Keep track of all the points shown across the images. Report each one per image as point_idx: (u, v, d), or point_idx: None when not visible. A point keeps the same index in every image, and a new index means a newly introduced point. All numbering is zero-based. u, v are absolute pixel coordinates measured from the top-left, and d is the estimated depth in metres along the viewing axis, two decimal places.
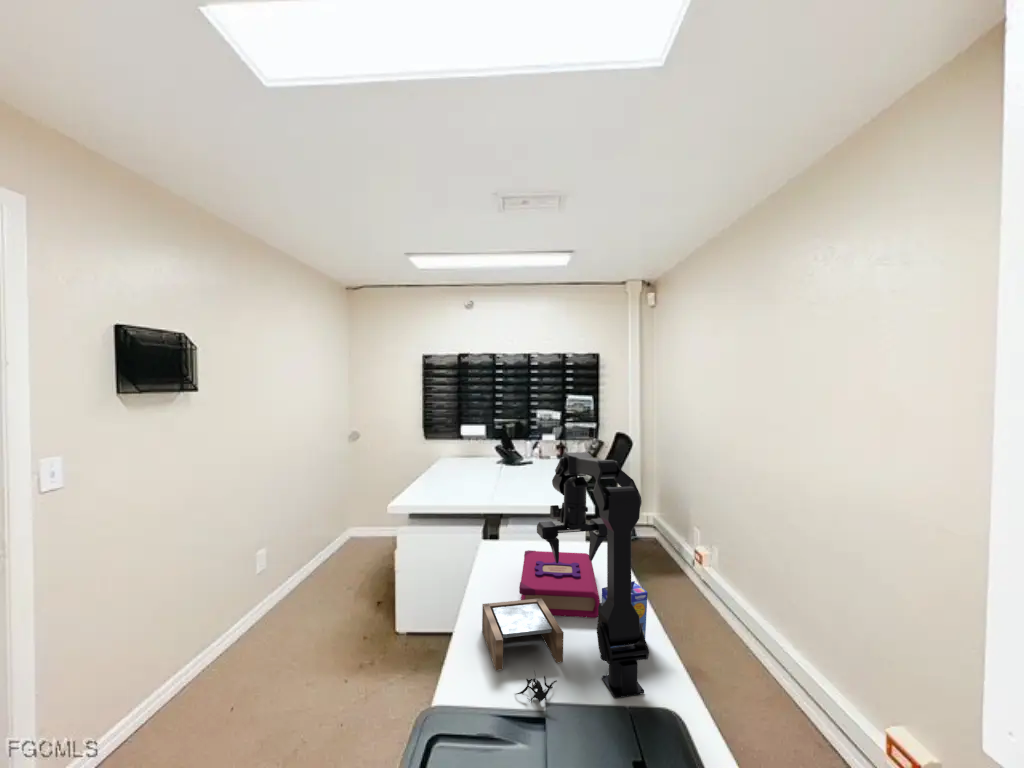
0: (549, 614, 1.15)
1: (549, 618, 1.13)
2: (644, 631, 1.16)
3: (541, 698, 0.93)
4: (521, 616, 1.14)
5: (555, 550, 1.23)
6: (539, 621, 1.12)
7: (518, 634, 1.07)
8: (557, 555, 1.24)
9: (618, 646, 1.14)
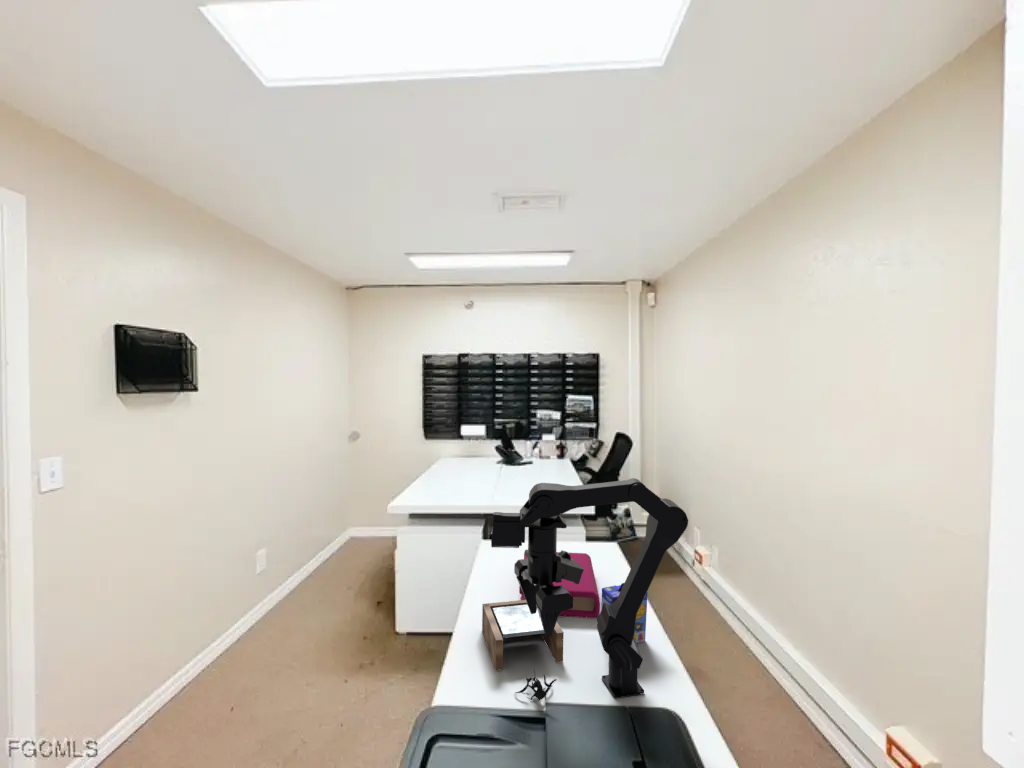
0: None
1: None
2: (644, 631, 1.16)
3: (541, 697, 0.93)
4: (521, 616, 1.14)
5: (523, 593, 1.04)
6: (539, 621, 1.12)
7: (518, 634, 1.07)
8: None
9: None
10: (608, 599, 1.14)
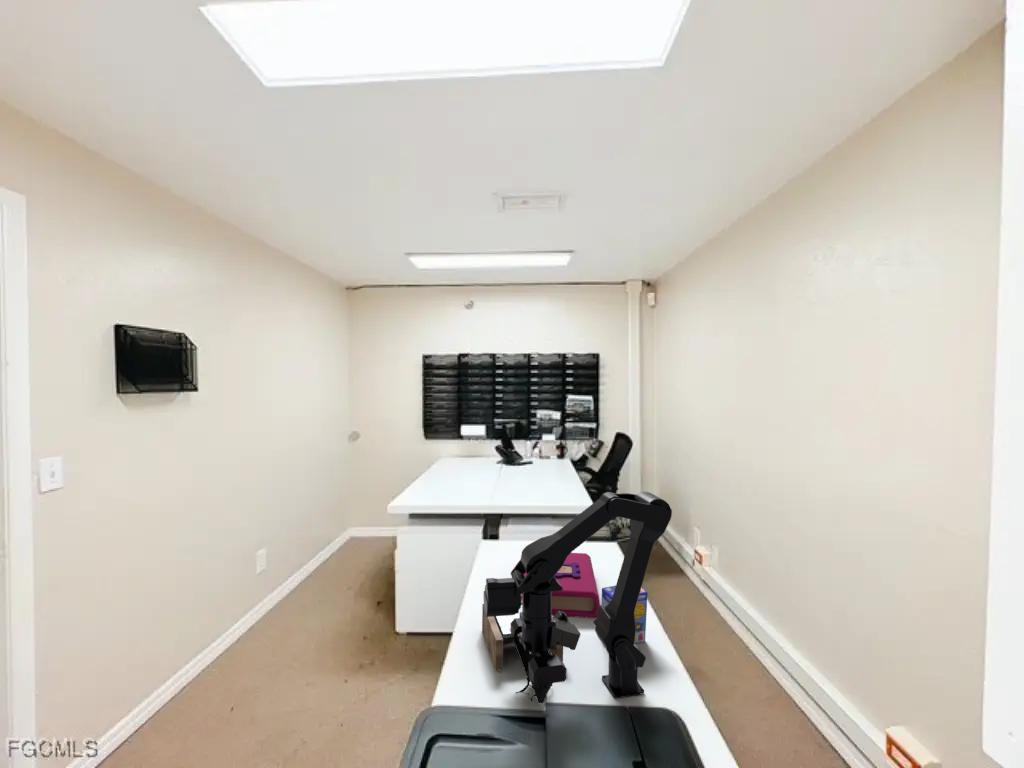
0: None
1: None
2: (644, 631, 1.16)
3: None
4: None
5: (520, 657, 1.00)
6: None
7: None
8: (523, 666, 1.00)
9: None
10: (608, 599, 1.14)
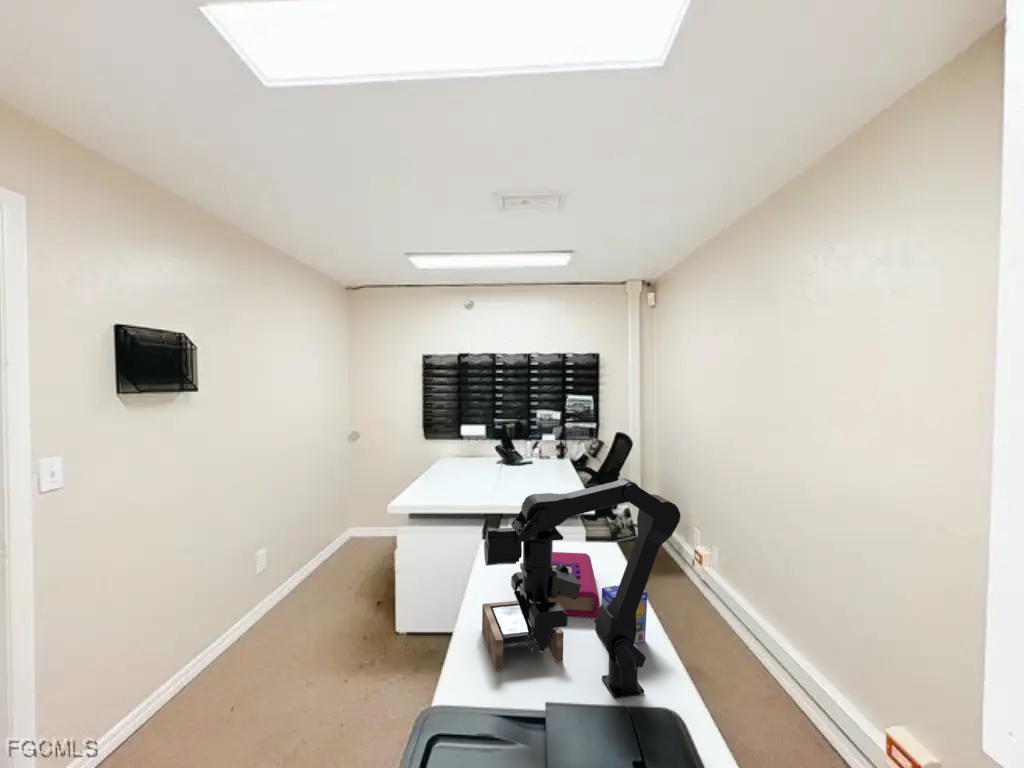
0: None
1: None
2: (644, 631, 1.16)
3: None
4: (521, 616, 1.14)
5: None
6: None
7: (518, 634, 1.07)
8: (524, 619, 0.99)
9: None
10: (608, 599, 1.14)
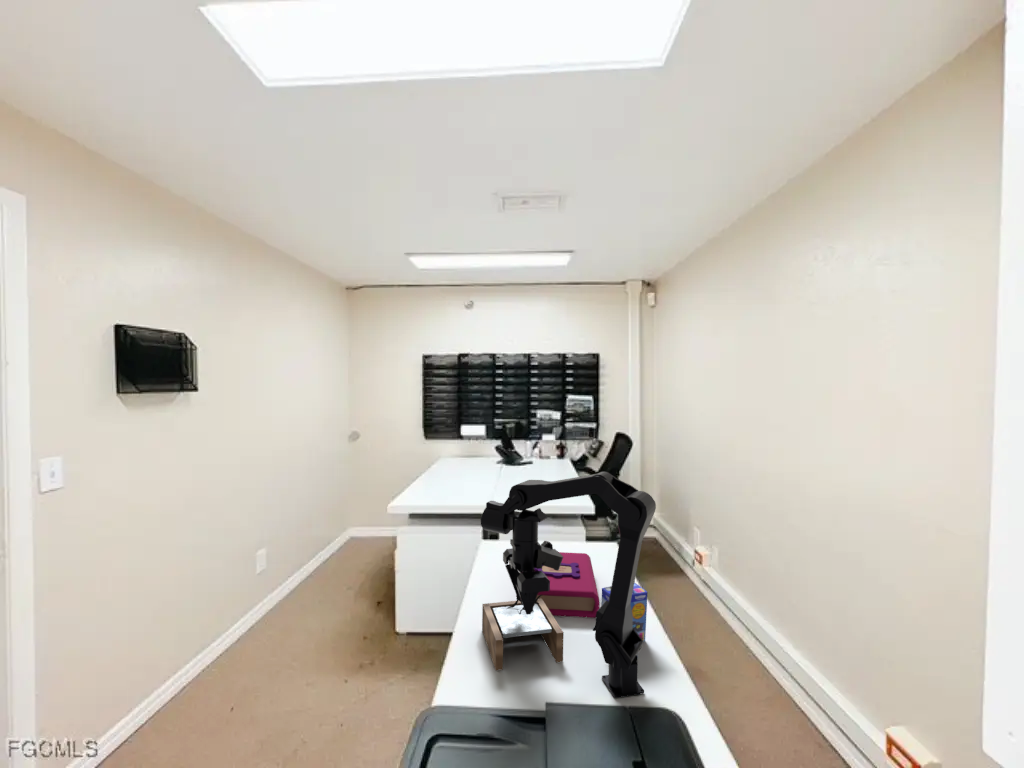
0: (549, 614, 1.15)
1: (549, 618, 1.13)
2: (644, 631, 1.16)
3: None
4: (521, 616, 1.14)
5: (511, 580, 1.15)
6: (539, 621, 1.12)
7: (518, 634, 1.07)
8: (514, 588, 1.14)
9: None
10: (608, 599, 1.14)
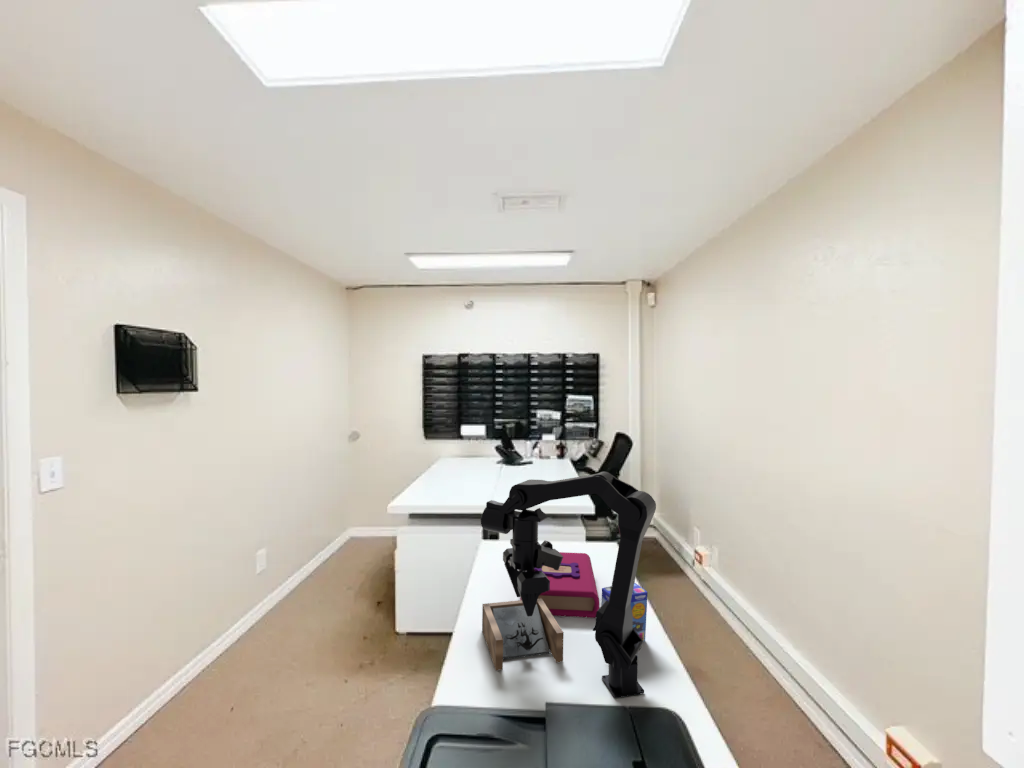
0: (549, 614, 1.15)
1: (549, 618, 1.13)
2: (644, 631, 1.16)
3: (527, 649, 1.08)
4: (521, 626, 1.15)
5: (510, 578, 1.16)
6: (538, 637, 1.13)
7: (516, 656, 1.09)
8: (513, 586, 1.15)
9: None
10: (608, 599, 1.14)
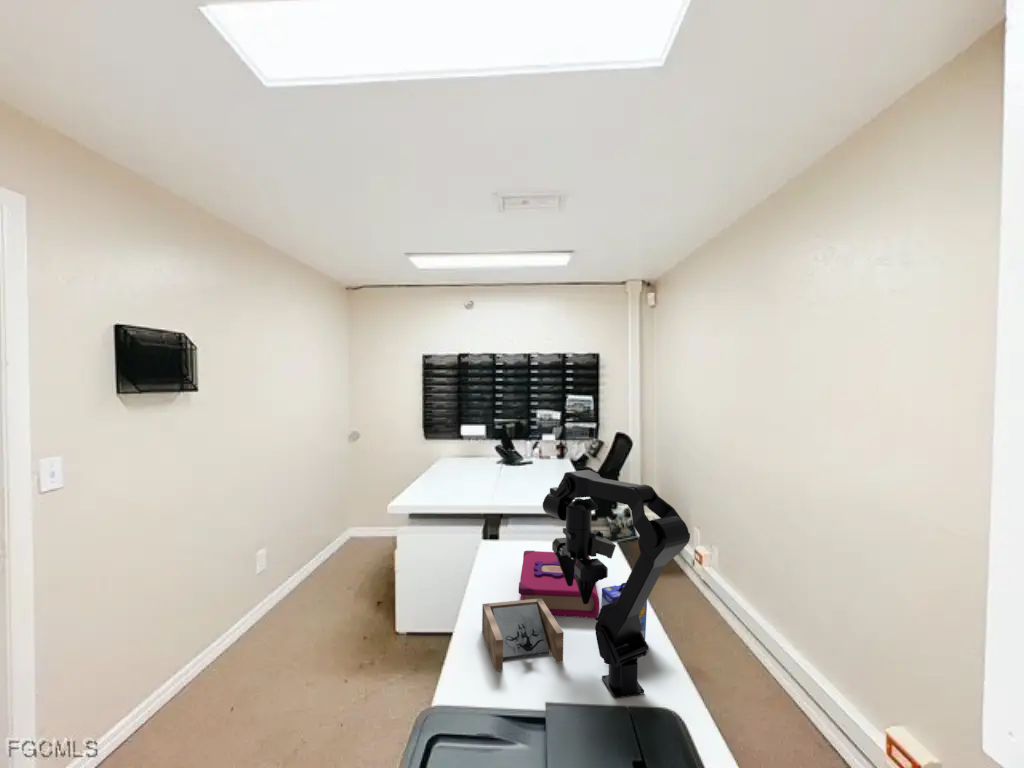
0: (549, 614, 1.15)
1: (549, 618, 1.13)
2: (644, 631, 1.16)
3: (528, 650, 1.08)
4: (521, 626, 1.15)
5: None
6: (538, 637, 1.13)
7: (516, 656, 1.09)
8: (564, 575, 1.16)
9: None
10: (608, 599, 1.14)
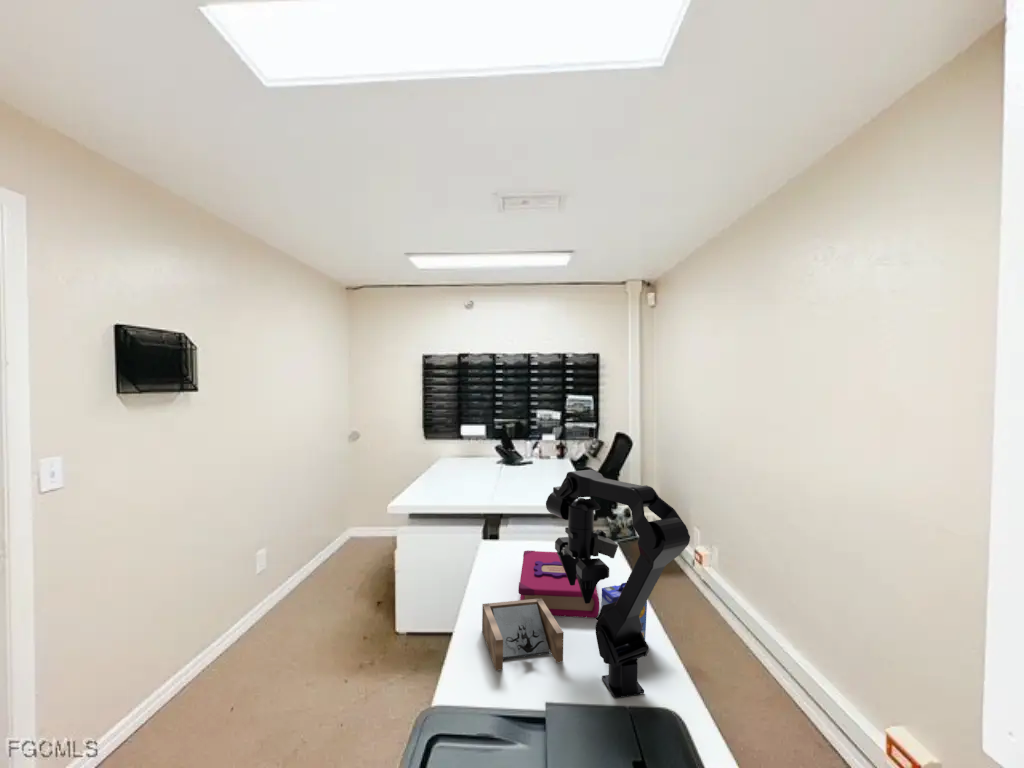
0: (549, 614, 1.15)
1: (549, 618, 1.13)
2: (644, 631, 1.16)
3: (528, 652, 1.07)
4: (521, 626, 1.15)
5: (563, 567, 1.17)
6: (538, 637, 1.13)
7: (516, 656, 1.09)
8: (566, 574, 1.16)
9: None
10: (608, 599, 1.14)
